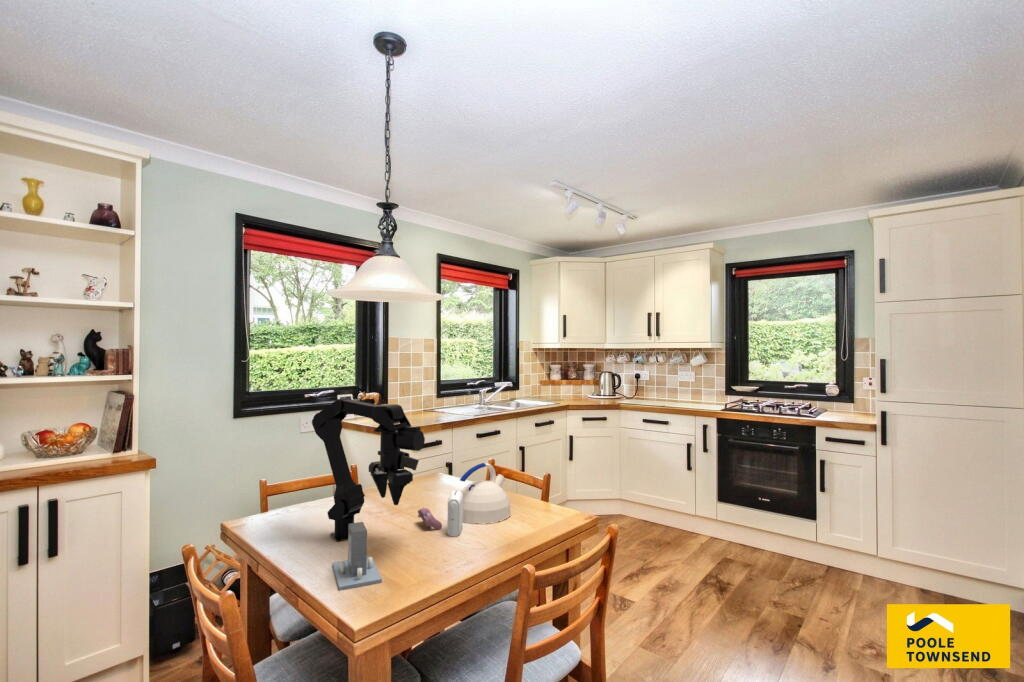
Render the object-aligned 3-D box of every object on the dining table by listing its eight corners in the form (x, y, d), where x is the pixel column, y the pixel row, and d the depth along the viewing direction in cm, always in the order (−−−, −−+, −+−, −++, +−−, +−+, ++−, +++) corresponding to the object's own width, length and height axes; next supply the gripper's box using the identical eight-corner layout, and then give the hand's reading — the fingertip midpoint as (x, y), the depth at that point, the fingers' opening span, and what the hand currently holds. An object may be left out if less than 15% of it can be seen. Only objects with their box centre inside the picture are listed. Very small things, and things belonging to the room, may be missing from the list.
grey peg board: (332, 565, 129) (332, 552, 129) (371, 558, 133) (371, 546, 133) (339, 590, 115) (339, 576, 115) (381, 582, 120) (382, 568, 120)
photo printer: (460, 536, 150) (460, 496, 150) (446, 536, 150) (446, 496, 150) (463, 525, 160) (464, 487, 160) (450, 525, 160) (451, 487, 160)
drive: (347, 566, 127) (347, 523, 127) (362, 563, 128) (362, 521, 128) (350, 577, 120) (351, 532, 121) (366, 574, 122) (367, 530, 122)
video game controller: (422, 526, 163) (413, 508, 162) (433, 518, 165) (425, 501, 164) (431, 536, 154) (422, 517, 153) (443, 527, 156) (434, 509, 155)
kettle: (523, 514, 172) (523, 463, 172) (480, 529, 157) (481, 473, 157) (484, 502, 185) (484, 454, 186) (441, 514, 170) (441, 463, 171)
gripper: (429, 449, 141) (429, 504, 140) (402, 440, 155) (401, 489, 155) (393, 454, 134) (392, 511, 133) (368, 444, 149) (367, 495, 148)
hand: (389, 501), depth 143 cm, fingers open, 9 cm apart
